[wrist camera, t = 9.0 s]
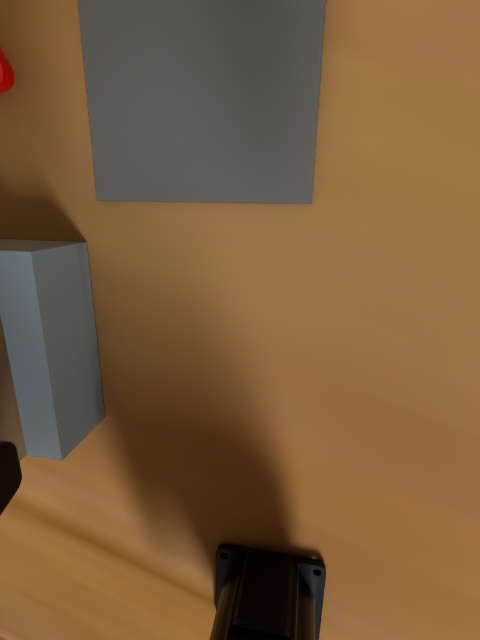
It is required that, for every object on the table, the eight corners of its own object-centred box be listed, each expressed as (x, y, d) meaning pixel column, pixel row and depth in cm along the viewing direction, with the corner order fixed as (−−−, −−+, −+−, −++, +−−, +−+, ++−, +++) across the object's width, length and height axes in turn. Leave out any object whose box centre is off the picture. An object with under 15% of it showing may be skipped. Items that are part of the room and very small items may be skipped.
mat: (311, 204, 16) (311, 204, 16) (101, 200, 18) (96, 200, 18) (331, -88, 13) (332, -97, 13) (77, -60, 15) (71, -67, 15)
